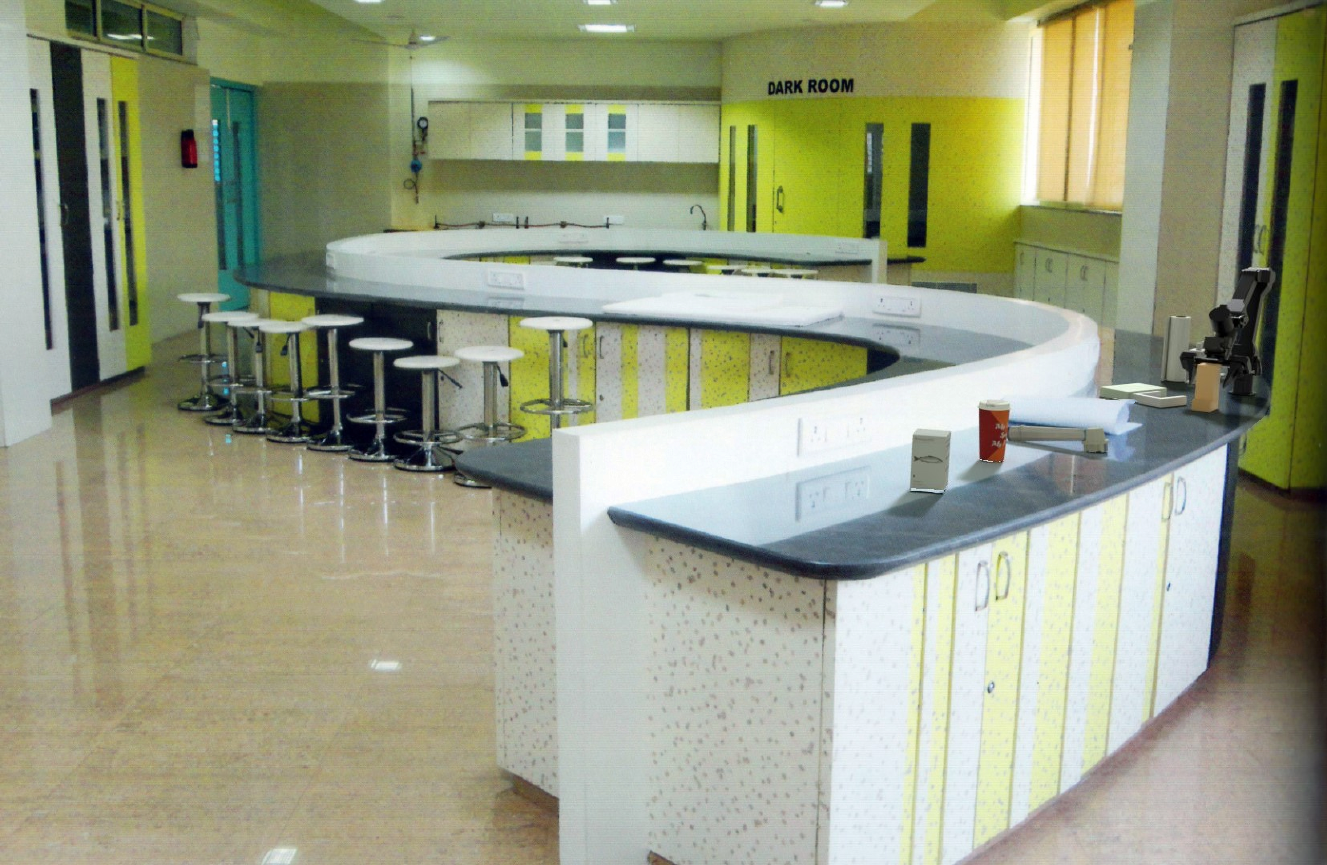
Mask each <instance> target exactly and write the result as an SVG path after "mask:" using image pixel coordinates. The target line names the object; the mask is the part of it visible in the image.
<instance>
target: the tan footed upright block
mask: <svg viewBox="0 0 1327 865" xmlns="http://www.w3.org/2000/svg"><path fill="white" fill-rule="evenodd" d="M1221 365H1222V364H1212V363H1201V364H1198V365H1197V377H1196V384H1195V388H1194V389H1195V390H1194V398H1193V399H1191V411H1197V412H1206V413H1211V412H1213V411H1216V410H1218V408H1219V394H1220V387H1221V385H1220V384H1221V377H1220V376H1221V373H1222V367H1221Z"/></svg>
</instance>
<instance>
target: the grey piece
mask: <svg viewBox="0 0 1327 865" xmlns="http://www.w3.org/2000/svg"><path fill="white" fill-rule="evenodd" d="M1006 440H1008V441H1009V442H1010V441H1011V442H1020V443H1024V442H1080V441H1081V445H1083V451H1084V452H1086V453H1087V452H1089V453H1090V452H1095V453H1097V452H1100V453H1105V452H1106V453H1107V452H1108V451H1109V446H1108V444H1109V443H1110V439H1108V438H1106V435H1105V429H1104V428H1103V427H1101V426H1099V427H1097V426H1094V427H1087V428H1076V427H1074V428H1073V427H1053V426H1034V425H1033V426H1032V425H1029V426H1028V425H1025V424H1021V425H1009V426H1008V430H1007V439H1006Z"/></svg>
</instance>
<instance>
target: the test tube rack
mask: <svg viewBox="0 0 1327 865" xmlns="http://www.w3.org/2000/svg"><path fill="white" fill-rule="evenodd" d="M1203 344H1204V340H1202V341H1201V342H1196V344H1195V348H1191V349H1188V352H1196V354H1197V357H1206V356H1207V355H1205V354H1204V351H1205V349H1204V348H1203ZM1196 370H1197V369H1196ZM1221 376H1223V377H1226V373H1222V372H1221ZM1221 376H1220V378H1222V377H1221ZM1196 377H1197V373H1196V375H1195V378H1194V380H1193V383H1192V384H1191V385H1196ZM1186 383H1187V384H1188V385H1189V379H1188V380H1186V381H1184V384H1186Z"/></svg>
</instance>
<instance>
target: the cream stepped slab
mask: <svg viewBox="0 0 1327 865" xmlns="http://www.w3.org/2000/svg"><path fill="white" fill-rule="evenodd" d="M1167 392H1168V388H1167V387H1162V386H1157V385H1153V384H1146V383H1142V382H1135V383H1126V384H1114V385H1105V386H1104V385H1103V386H1100V387H1099V397H1101V398H1106V399H1110V398H1117V399H1135V400H1138V403H1137V404H1141V405H1145V406H1152V407H1155V408H1159V409H1160V408H1161V409H1162V408H1169V407H1176V406H1177V407H1178V406H1185V405H1187V400H1188V399H1187V398H1188V396H1187V395H1175V396H1167Z"/></svg>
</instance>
